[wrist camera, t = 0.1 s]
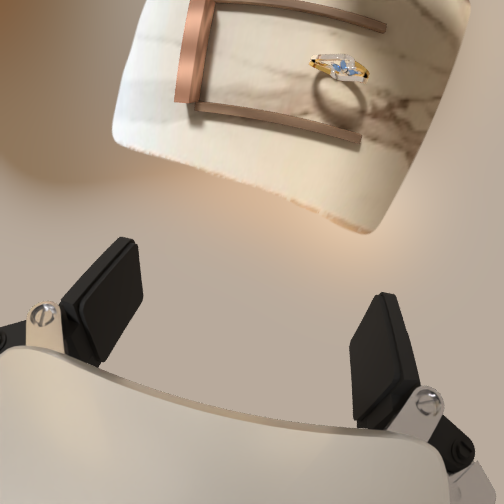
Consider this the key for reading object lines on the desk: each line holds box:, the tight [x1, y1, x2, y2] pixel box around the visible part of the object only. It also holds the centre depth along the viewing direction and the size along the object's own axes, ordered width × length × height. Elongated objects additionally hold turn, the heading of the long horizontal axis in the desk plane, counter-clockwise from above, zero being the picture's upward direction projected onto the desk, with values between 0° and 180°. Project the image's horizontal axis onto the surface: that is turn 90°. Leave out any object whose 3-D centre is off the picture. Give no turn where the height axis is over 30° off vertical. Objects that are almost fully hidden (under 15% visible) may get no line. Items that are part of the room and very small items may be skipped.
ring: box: [309, 54, 370, 84], centre depth 27 cm, size 7×3×8 cm, turn 72°
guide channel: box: [174, 0, 387, 144], centre depth 29 cm, size 17×24×4 cm
